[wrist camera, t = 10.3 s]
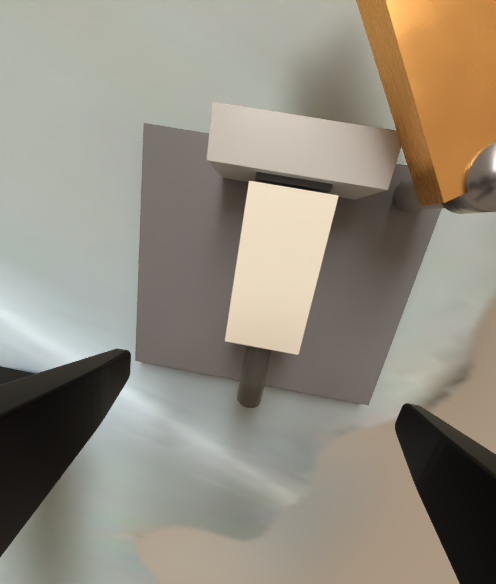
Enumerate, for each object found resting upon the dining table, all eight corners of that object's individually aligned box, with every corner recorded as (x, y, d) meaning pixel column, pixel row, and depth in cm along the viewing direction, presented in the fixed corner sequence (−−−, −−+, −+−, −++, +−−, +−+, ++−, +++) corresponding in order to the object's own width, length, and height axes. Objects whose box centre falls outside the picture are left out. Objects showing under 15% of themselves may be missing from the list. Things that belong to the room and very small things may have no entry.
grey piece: (363, 395, 19) (396, 454, 14) (141, 354, 19) (100, 396, 14) (441, 176, 14) (530, 151, 9) (151, 129, 15) (96, 83, 10)
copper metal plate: (426, 232, 10) (456, 233, 9) (308, -146, 8) (320, -247, 6) (528, 187, 10) (582, 179, 8) (437, -250, 7) (490, -397, 5)
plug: (276, 385, 18) (279, 428, 14) (224, 375, 18) (213, 416, 14) (319, 203, 14) (338, 195, 10) (253, 192, 14) (248, 180, 10)
